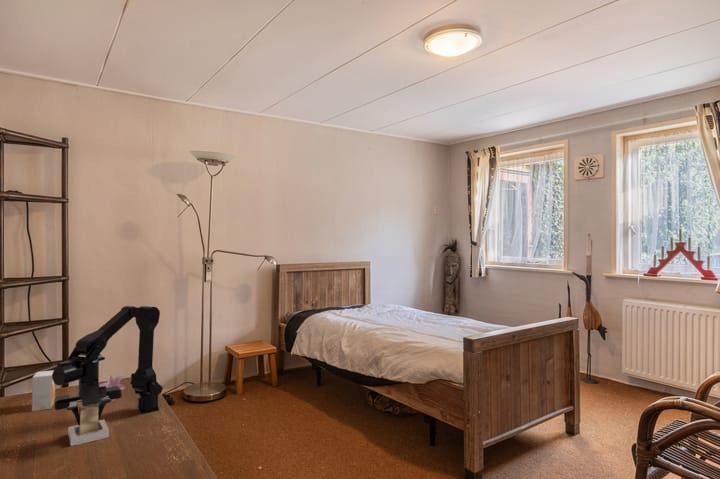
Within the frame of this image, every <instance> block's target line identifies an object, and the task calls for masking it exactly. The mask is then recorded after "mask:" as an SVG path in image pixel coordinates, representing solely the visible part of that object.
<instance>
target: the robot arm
mask: <svg viewBox="0 0 720 479" xmlns="http://www.w3.org/2000/svg"><path fill="white" fill-rule="evenodd" d="M160 315H161V312H160V309H159V308H158V307H157V306H150V305H149V306H148V305H147V306H146V305H142V306H137V307H136V306H133V305H125V306H123V307H122V308H121V309H120V311H118V312H117V313H115V315H114V316H112V317H111V318H110V319H108V321H106V322H105V323H104V324H103V325H102V326H101V327H100V328H99V329H97V330H96V331H93V332H91V333H88V334H87V335H85V336H83V337H81V338H80V339H79V340H77V341H76V343H75V346H74V348H73V350H72V351H71V353H70V355H69V356H68V358H67V361H63V362H62V361H61V362H58V363H57V364H56V367H55V368H54V371H53V370H52V371H53V373H52V378H53V381H54V383H55V386H56V385H57V386H62V385H66V384H69V383H73V382H76V381H78V395H77V396H71V397H70V394H64V395H60V396H59V395H58V396H55V399H54V404H53V406H54V410H55V411H58V410H59V411H60V410H64V409H65V410H67V411H71V412H72V413H73V415H74V417H75V420H76V423H77V425H79V426H80V417H79V404H78V403H81V404H82V405H81V406H88V405H91V404H97V405H98V422H99V421H100V420H101V417H102V413H103V411H104V409H105V407H106V405H107V404H108V403H111V401H112V400H113V399H115V400H118V399H121V398H122V397H123V396H122V395H123V394H122V390H121V389H120V388H119V387H118V386H115V387H109V388H106V386H103V387H99V385H100V384H99V383H100V378H99V377H100V371H99V370H100V369H99V368H100V367H99V366H100V362H101V361H105V359H106V358H105V357H104V356H103V355H102V354H101V353H102V352H103V351H104V349H105V348H106V347H107V344H108V342H109V340H110V339H111V338H112V337H113V336H115V334H117V333H118V332H119V331H120V330H121V329H123V327H124V326H126V324H128V323H129V322H130V321H131V320H132V319H133V318H135V324H136V326H137V328H138V330H139V337H138V338H139V339H138V340H139V341H138V358H137V360H138V361H137V368H136V370H135V372H134V373H131V376H130V379H131V380H130V383H129V384H130V385H131V389H133V390H134V393H135V395H138V397H137V398H136V399H137V400H136V402H137V403H136V409H137V411H139V413H140V414H147V413H150V412H156V411H159V410H160V407H159V395H160V394H162V391H163V388H164V386H162V385H161V384H160V383H159V382H158V381H157V373H156V371H155V369H154V368H153V362H154V361H153V358H154V336H155V335H154V334H155V329H156V328H157V325H158V324H159V321H160Z"/></svg>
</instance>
